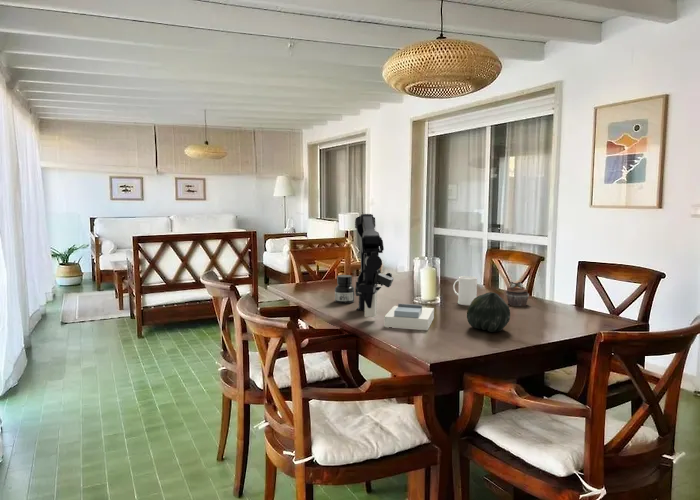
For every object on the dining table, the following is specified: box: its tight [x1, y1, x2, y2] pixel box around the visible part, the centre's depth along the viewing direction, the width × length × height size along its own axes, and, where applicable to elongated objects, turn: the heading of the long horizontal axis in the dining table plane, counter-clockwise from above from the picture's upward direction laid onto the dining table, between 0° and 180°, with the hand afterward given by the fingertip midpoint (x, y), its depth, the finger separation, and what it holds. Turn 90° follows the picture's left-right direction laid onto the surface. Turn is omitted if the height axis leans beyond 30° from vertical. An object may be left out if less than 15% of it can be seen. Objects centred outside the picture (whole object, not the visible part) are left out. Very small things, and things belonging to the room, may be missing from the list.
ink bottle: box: [334, 274, 355, 304], centre depth 228 cm, size 10×9×12 cm
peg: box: [364, 290, 378, 318], centre depth 192 cm, size 4×4×10 cm
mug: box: [452, 275, 478, 306], centre depth 226 cm, size 12×8×12 cm
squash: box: [466, 291, 511, 333], centre depth 180 cm, size 14×15×15 cm
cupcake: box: [505, 281, 530, 307], centre depth 223 cm, size 10×10×10 cm
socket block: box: [383, 305, 435, 331], centre depth 191 cm, size 19×16×4 cm
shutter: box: [394, 303, 423, 318], centre depth 187 cm, size 8×9×3 cm
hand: (370, 306), depth 193 cm, fingers closed on peg, 4 cm apart
